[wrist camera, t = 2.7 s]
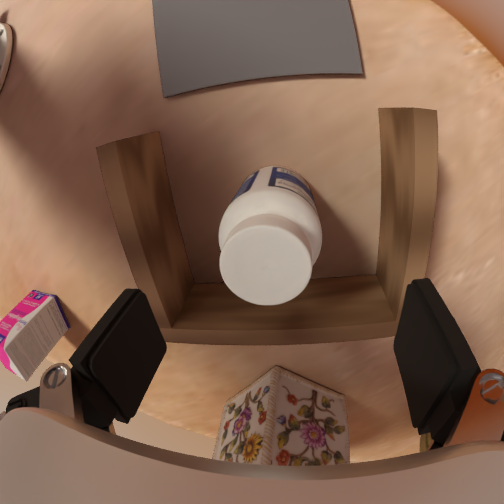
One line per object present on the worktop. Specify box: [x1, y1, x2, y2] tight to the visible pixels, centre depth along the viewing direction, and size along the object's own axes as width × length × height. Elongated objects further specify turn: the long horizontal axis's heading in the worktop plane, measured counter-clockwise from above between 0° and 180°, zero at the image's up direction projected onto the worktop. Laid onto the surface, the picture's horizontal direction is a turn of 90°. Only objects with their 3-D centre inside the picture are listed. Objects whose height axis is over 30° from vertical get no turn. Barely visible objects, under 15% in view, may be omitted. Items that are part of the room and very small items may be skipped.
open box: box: [96, 108, 438, 345], centre depth 18 cm, size 15×19×6 cm
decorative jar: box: [212, 366, 350, 466], centre depth 24 cm, size 12×12×18 cm
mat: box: [152, 0, 363, 98], centre depth 14 cm, size 10×14×1 cm
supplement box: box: [0, 290, 70, 381], centre depth 26 cm, size 6×6×12 cm
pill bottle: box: [219, 166, 322, 305], centre depth 16 cm, size 5×5×10 cm
